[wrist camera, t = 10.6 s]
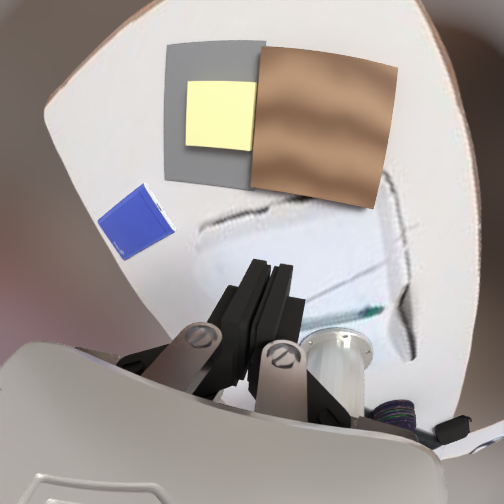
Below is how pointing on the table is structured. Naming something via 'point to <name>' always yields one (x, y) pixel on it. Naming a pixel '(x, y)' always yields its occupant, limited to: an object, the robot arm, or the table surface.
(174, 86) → the mat
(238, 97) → the sticky pad
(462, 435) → the carrying case or bag
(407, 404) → the storage jar
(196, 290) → the table surface
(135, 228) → the hard drive
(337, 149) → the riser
